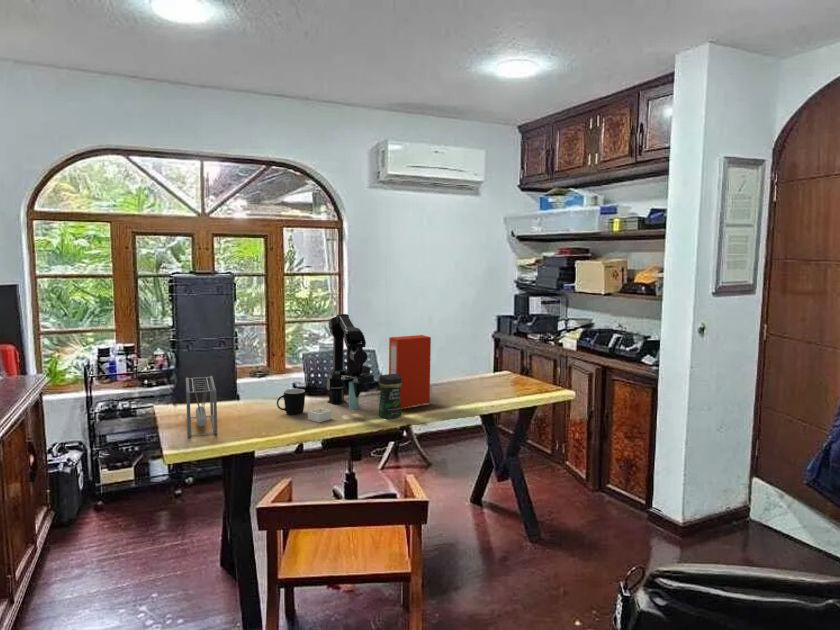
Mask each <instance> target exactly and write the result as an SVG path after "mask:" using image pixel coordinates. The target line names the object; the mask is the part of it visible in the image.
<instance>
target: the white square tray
mask: <svg viewBox="0 0 840 630" xmlns="http://www.w3.org/2000/svg"><path fill="white" fill-rule="evenodd" d="M307 420H309V421H313V422H316V423H322V422H326V421H329V420H332V410H330V409H326V408H322V407H317V408H314V409H310V410H307Z"/></svg>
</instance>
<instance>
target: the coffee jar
mask: <svg viewBox="0 0 840 630" xmlns="http://www.w3.org/2000/svg"><path fill="white" fill-rule="evenodd" d="M401 379H402V378H401V375H399V374H389V373H388V374H381V375H380V376H379V378H378V380H379V381H378V385H379V389H380V394H379V403H378V412H377V414H378V416H379V417H380V418H381V419H385V420H391V419H396V418H397V417H398V418H401V416H402V410H401V400H400V388H401V385H402V380H401Z"/></svg>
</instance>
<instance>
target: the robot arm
mask: <svg viewBox="0 0 840 630" xmlns="http://www.w3.org/2000/svg"><path fill="white" fill-rule="evenodd" d="M328 329H329V333H330V334H331V336H332V339H333V340H332V341H333V343H332V344H333V346H332V347H333V348H332V353H333V354H332V368H331V370H330V372H329V374H328V375H329V376H328V379H327V381H326V389H327V390H328V391H329V394H328V400H327V403H330V404H334V405H339V404H343V402H344V403H347V400H345V391H346V393H347V394H348V396H349V382H352V381H354V380H356V382H353V384H354V390H355V395H356V397H358V398H359V396H360V394H361V391H362V389H363V386H364V385H365V384H369V383H370V384H371V383H374V382H375V376H374V375H373V374H371V373H370V372H371V367H369V366H366V365H364V364H365V362H367V360H368V354H367V353H366V351H365V350H363V348H366V346H367V345H366V344H367V340H366V338H365V335H364V332H363V331H362V330H361V329H360V328H359V327H355V326H354V324H353V322H352V321H351V319H350V315H349V314H347V313H339V314H338V313H337V314H336V315H335V316H334V317H331V318H330V319H329V322H328ZM344 344H345V348H346V362H344ZM344 365H345V366H346V369H344Z"/></svg>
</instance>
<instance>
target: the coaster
mask: <svg viewBox="0 0 840 630" xmlns="http://www.w3.org/2000/svg"><path fill="white" fill-rule="evenodd" d="M341 419H343V420H344V421H348V422H349V421H351V422H354V421H355V422H356V421H361V420H365V419H366V415H364V414H360V413H350V414H348V413H347V414H344V415H342V416H341Z"/></svg>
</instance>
